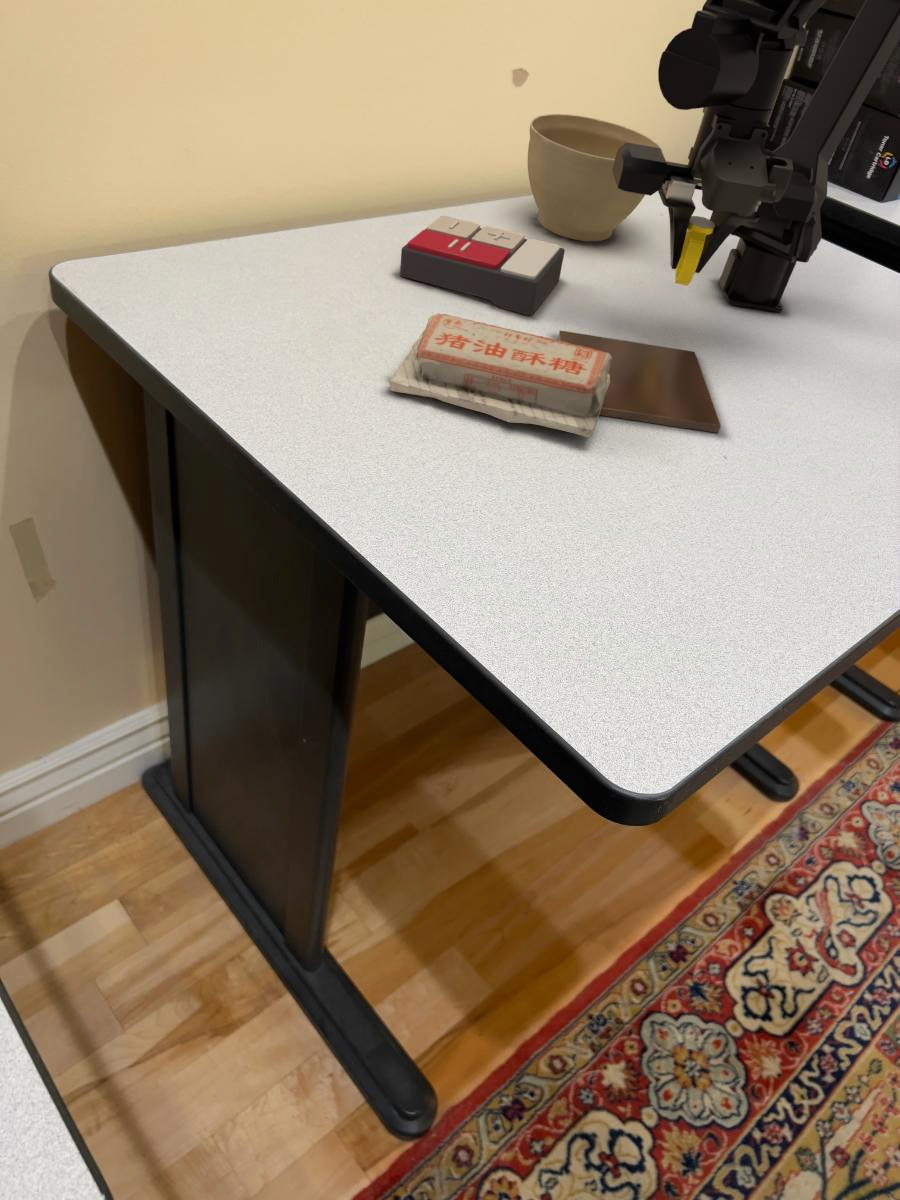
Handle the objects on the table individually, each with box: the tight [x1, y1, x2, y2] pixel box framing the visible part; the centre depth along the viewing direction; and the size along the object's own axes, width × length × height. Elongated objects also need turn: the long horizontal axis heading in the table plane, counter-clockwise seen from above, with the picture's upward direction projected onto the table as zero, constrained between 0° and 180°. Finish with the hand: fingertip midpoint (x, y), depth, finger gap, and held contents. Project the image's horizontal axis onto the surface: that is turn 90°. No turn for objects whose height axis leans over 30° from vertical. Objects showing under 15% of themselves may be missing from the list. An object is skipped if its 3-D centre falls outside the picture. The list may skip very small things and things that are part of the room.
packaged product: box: [389, 313, 612, 439], centre depth 77 cm, size 18×5×10 cm
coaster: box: [557, 330, 722, 434], centre depth 84 cm, size 14×14×1 cm
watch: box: [674, 215, 715, 287], centre depth 89 cm, size 6×3×6 cm, turn 169°
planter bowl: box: [527, 113, 665, 243], centre depth 108 cm, size 16×16×11 cm
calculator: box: [399, 215, 566, 316], centre depth 95 cm, size 11×4×15 cm
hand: (684, 269), depth 90 cm, fingers closed on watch, 2 cm apart
